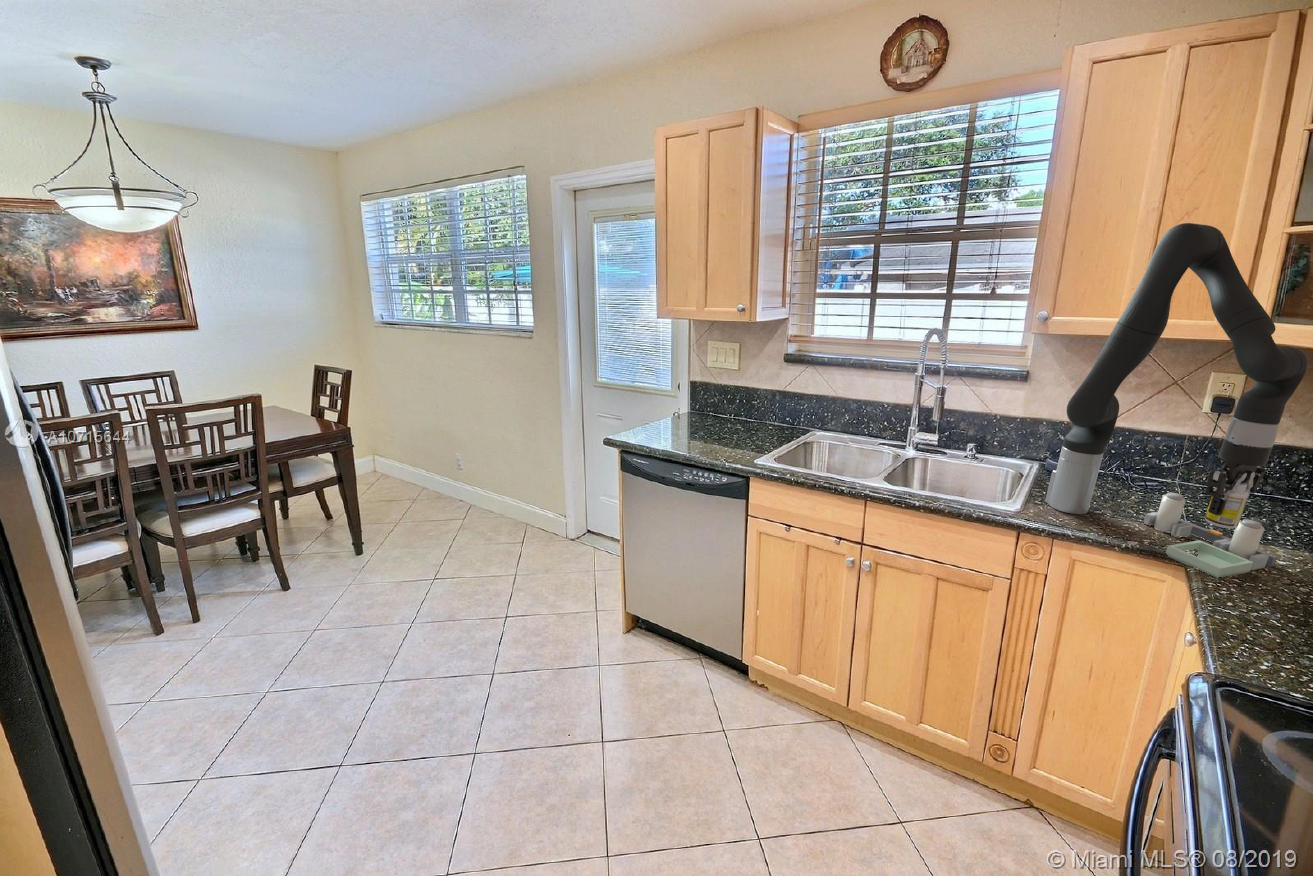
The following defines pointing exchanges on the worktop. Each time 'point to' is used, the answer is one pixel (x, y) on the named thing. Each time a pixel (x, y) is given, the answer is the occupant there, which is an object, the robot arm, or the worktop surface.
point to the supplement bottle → (1230, 509)
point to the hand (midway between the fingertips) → (1224, 512)
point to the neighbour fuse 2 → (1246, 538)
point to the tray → (1209, 559)
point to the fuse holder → (1214, 540)
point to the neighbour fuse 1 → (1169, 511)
